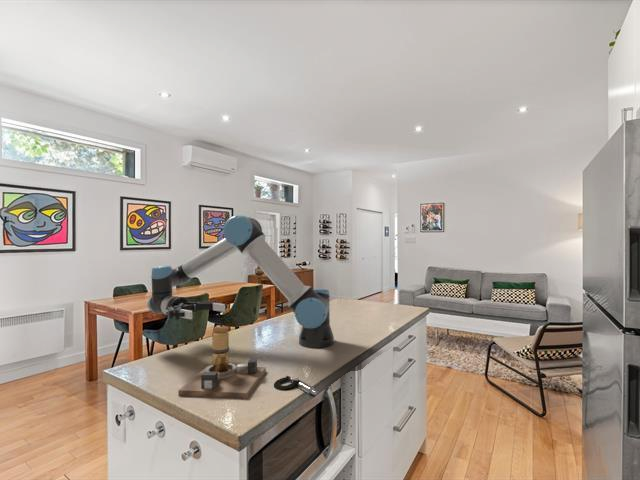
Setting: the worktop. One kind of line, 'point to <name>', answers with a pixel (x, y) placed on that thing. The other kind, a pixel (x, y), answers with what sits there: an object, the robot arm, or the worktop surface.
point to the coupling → (220, 349)
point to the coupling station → (225, 381)
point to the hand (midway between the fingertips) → (208, 311)
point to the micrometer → (296, 383)
